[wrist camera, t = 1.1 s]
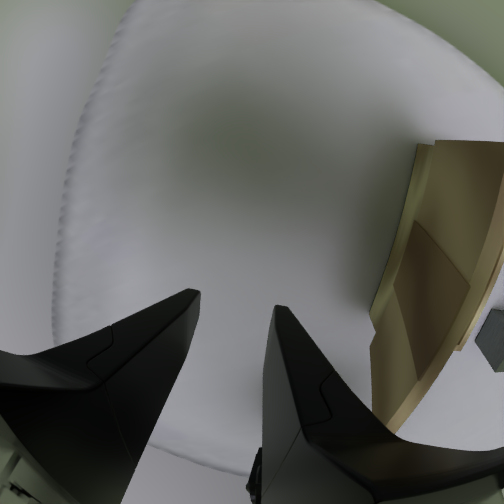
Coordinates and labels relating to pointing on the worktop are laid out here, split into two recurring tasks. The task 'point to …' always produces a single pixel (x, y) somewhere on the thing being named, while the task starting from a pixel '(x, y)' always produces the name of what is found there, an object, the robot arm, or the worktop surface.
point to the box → (401, 240)
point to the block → (493, 340)
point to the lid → (439, 275)
